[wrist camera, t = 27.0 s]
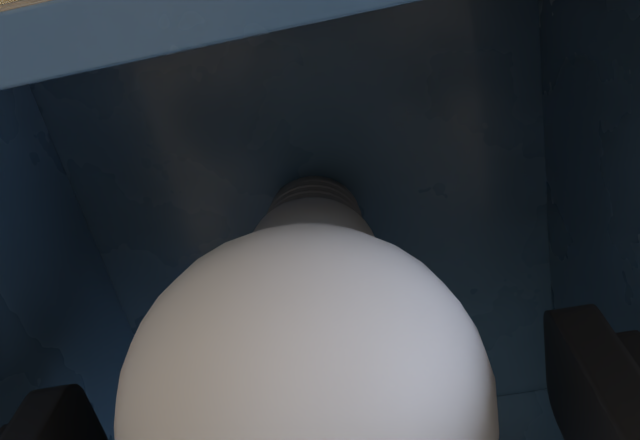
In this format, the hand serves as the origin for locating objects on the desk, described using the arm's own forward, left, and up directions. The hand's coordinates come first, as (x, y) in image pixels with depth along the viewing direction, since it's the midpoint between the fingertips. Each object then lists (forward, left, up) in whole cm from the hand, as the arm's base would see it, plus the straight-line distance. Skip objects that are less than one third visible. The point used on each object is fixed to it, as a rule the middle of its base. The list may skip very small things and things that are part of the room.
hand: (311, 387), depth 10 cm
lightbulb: (0, 0, -8) cm, 8 cm away
